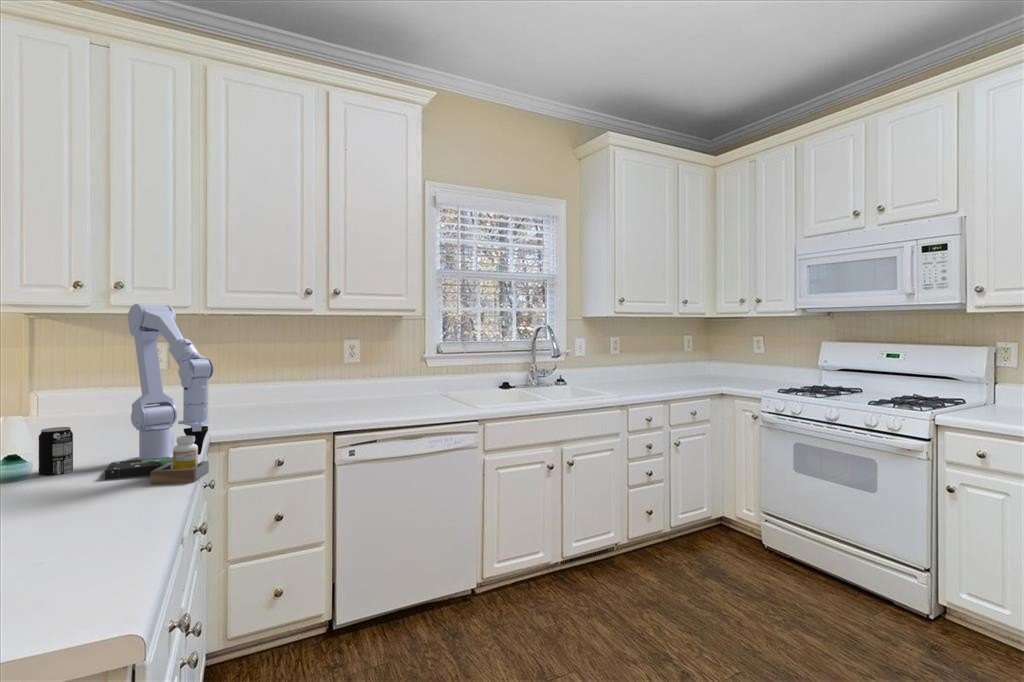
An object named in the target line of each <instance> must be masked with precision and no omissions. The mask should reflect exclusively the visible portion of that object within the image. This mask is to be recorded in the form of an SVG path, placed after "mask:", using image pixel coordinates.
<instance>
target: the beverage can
mask: <svg viewBox="0 0 1024 682" xmlns="http://www.w3.org/2000/svg"><path fill="white" fill-rule="evenodd" d="M73 471H74V433H73V431H72V430H71V427H70V426H57V427H48V428H42V429H41V430H40V433H39V435H38V475H39V476H42V477H44V476H45V477H49V476H50V477H51V476H61V475H65V474H69V473H72V472H73Z"/></svg>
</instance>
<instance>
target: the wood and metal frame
mask: <svg viewBox="0 0 1024 682" xmlns="http://www.w3.org/2000/svg"><path fill="white" fill-rule="evenodd" d="M209 467H210V466H209V460H202V461H200V462H198V464H197V465H195V466H193V467H192V468H190V469H173V463H167V464H165V465H163V466H161V467H159V468H157V469H155V470H153V471H151V472H150V476H149V477H150V478H149V479H150V482H149V484H150V485H161V484H163V485H164V484H182V483H196V481H199V479H201V478H203V477H204V476H206V475H207V474H209V472H210V470H209Z"/></svg>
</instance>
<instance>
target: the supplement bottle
mask: <svg viewBox="0 0 1024 682" xmlns="http://www.w3.org/2000/svg"><path fill="white" fill-rule="evenodd" d="M194 442H195V436H186V435H181V436H177V437H176V444H177V445H174V448H173V469H190V468H192V467H193V466H195V465H197V464H198V463H199V455H198V446H197V445H196V444H194Z"/></svg>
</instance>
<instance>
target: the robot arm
mask: <svg viewBox="0 0 1024 682" xmlns="http://www.w3.org/2000/svg"><path fill="white" fill-rule="evenodd" d="M176 316H177V315H176V311H175V310H174V308H173V307H172V306H171V305H157V304H153V305H151V304H139V303H134V304H132V305H131V307H130V308H129V310H128V314H127V322H128V330H129V334H130V336H132V337H134V344H135V345H134V346H135V353H136V359H137V367H138V375H139V383H140V390H141V395H140V397H138V398H136V400H135V401H133V402H132V403H131V413H130V414H131V415H130V422H131V424H132V426H133V427H134V429H136V431H138V436H139V437H138V443H139V445H138V449H139V450H138V453H139V454H138V455H139V456H138V459H136V460H142V459H153V458H163V457H173V448H174V447H175V432H174V430H173V425H174V424H175V423H176V421H177V419H178V409H177V408H176V406H175V402H174V398H173V397H171V396H169V395H168V394H166V393H164V388H163V380H162V379H163V378H162V373H161V367H160V364H161V363H160V358H159V351H158V349H159V348H158V343H157V342H158V341H157V339H158V338H159V337H161V336H162V337H163V338H164V339H165V340H166V341H167V343H168V344H169V348H168V352H169V353H170V354H171V356H172V358H173V359H174V361H175V362H176V364H177V365H178V368H179V369H178V371H177V372H178V377H179V378H180V385H181V387H182V390H183V391H182V392H183V394H182V395H183V401H182V402H183V404H182V405H183V414H182V415H183V416H182V417H183V420H178V421H177V422H178V423H177V424H178V425H185V426H189V427H186V428H183V433H184V434H185V436H195V442H194V444H196V445H197V446H198V456H199V455H201V454H202V450H203V444H204V441H205V439H206V434H208V431H209V426H208V425H206V424H208V423H210V419H209V380H210V379H211V378H212V377H213V374H214V365H213V362H212V360H211V359H210V358H209V357H205V356H203V355H201V354H200V352H199V351H198V349H197V348H196V347H195V345H194V343H193V342H192V341H191V339H188V338H184V336H183V334H182V333H181V330H180V329H179V327H178V325H177V323H176V318H177V317H176Z"/></svg>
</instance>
